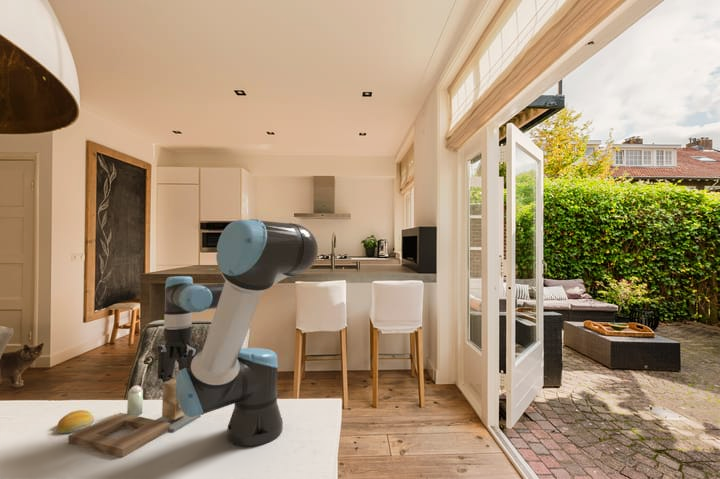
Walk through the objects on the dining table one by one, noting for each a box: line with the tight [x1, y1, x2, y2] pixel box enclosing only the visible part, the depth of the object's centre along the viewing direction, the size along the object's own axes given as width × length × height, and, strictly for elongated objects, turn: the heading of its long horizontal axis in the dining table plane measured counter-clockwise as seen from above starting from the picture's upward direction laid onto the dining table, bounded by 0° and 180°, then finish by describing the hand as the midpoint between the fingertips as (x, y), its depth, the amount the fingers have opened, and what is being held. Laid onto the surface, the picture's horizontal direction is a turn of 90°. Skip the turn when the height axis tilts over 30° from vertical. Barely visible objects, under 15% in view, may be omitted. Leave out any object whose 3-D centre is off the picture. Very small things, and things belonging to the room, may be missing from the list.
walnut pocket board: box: [67, 412, 170, 458], centre depth 94 cm, size 20×14×2 cm
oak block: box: [161, 377, 185, 420], centre depth 103 cm, size 5×5×10 cm
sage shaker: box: [126, 385, 144, 417], centre depth 107 cm, size 4×4×9 cm
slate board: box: [155, 415, 202, 433], centre depth 102 cm, size 10×10×1 cm
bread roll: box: [56, 409, 95, 434], centre depth 99 cm, size 8×9×4 cm
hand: (175, 403), depth 103 cm, fingers closed on oak block, 5 cm apart
